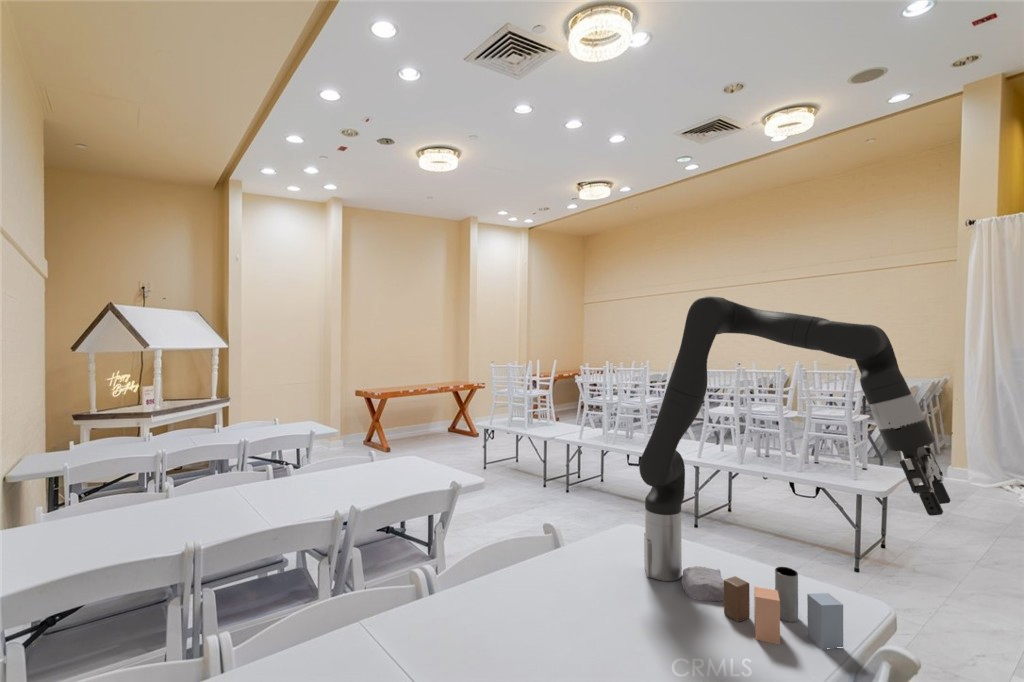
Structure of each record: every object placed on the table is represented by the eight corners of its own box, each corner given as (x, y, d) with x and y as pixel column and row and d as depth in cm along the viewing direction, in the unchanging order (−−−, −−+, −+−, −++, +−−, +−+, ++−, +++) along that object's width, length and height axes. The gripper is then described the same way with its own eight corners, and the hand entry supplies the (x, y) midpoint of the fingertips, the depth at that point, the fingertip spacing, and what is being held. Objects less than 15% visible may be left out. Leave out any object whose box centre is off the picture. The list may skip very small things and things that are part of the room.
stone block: (686, 606, 121) (730, 603, 119) (682, 586, 122) (725, 582, 119) (682, 584, 133) (721, 580, 131) (678, 566, 133) (717, 562, 131)
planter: (795, 613, 115) (795, 568, 114) (800, 623, 110) (800, 577, 110) (773, 609, 116) (773, 565, 116) (777, 620, 112) (776, 574, 112)
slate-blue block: (821, 649, 101) (821, 605, 101) (807, 636, 106) (807, 593, 106) (843, 648, 102) (843, 604, 101) (828, 635, 106) (828, 593, 106)
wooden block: (738, 623, 111) (738, 587, 111) (723, 614, 115) (722, 579, 114) (750, 618, 113) (750, 582, 113) (735, 609, 116) (734, 575, 116)
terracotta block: (755, 639, 105) (755, 596, 105) (754, 627, 109) (754, 586, 109) (780, 644, 103) (779, 600, 103) (777, 632, 107) (777, 590, 107)
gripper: (887, 422, 103) (923, 502, 99) (868, 432, 94) (908, 521, 90) (930, 413, 98) (971, 497, 94) (916, 422, 89) (960, 516, 84)
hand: (940, 508), depth 92 cm, fingers open, 8 cm apart
